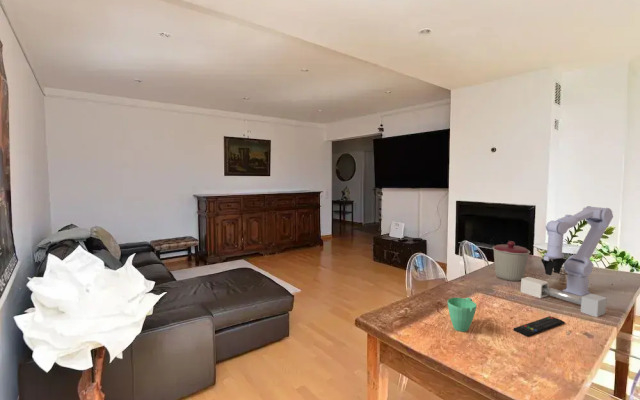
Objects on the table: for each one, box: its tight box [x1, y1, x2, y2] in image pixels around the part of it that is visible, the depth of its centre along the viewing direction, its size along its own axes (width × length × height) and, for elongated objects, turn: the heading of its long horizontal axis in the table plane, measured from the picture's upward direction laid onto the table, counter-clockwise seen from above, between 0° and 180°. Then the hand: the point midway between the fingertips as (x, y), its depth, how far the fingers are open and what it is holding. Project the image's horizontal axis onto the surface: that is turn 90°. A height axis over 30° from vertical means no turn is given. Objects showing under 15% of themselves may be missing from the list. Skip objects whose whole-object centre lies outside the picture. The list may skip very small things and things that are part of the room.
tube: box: [542, 286, 582, 306], centre depth 142 cm, size 4×22×4 cm, turn 29°
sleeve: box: [520, 276, 549, 299], centre depth 152 cm, size 6×9×7 cm
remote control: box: [512, 315, 566, 338], centre depth 119 cm, size 5×24×1 cm, turn 116°
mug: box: [447, 297, 477, 333], centre depth 119 cm, size 15×10×10 cm
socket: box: [580, 292, 608, 318], centre depth 132 cm, size 8×6×7 cm
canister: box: [492, 240, 531, 282], centre depth 175 cm, size 18×18×21 cm
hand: (552, 273), depth 151 cm, fingers open, 7 cm apart
